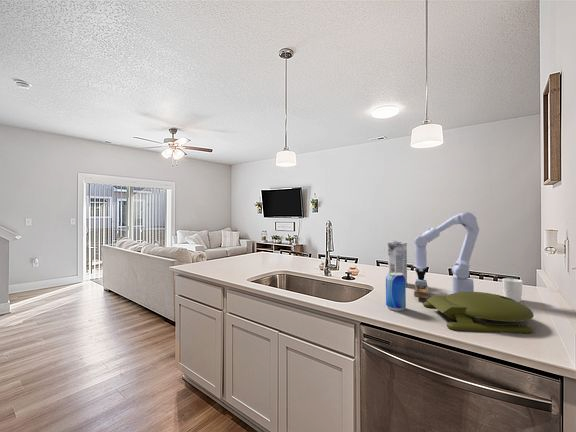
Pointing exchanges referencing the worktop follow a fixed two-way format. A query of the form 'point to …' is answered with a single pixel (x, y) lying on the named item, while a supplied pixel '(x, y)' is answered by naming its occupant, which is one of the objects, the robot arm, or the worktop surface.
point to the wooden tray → (421, 292)
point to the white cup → (512, 288)
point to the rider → (421, 283)
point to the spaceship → (481, 311)
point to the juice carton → (397, 258)
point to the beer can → (395, 291)
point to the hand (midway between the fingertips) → (421, 282)
